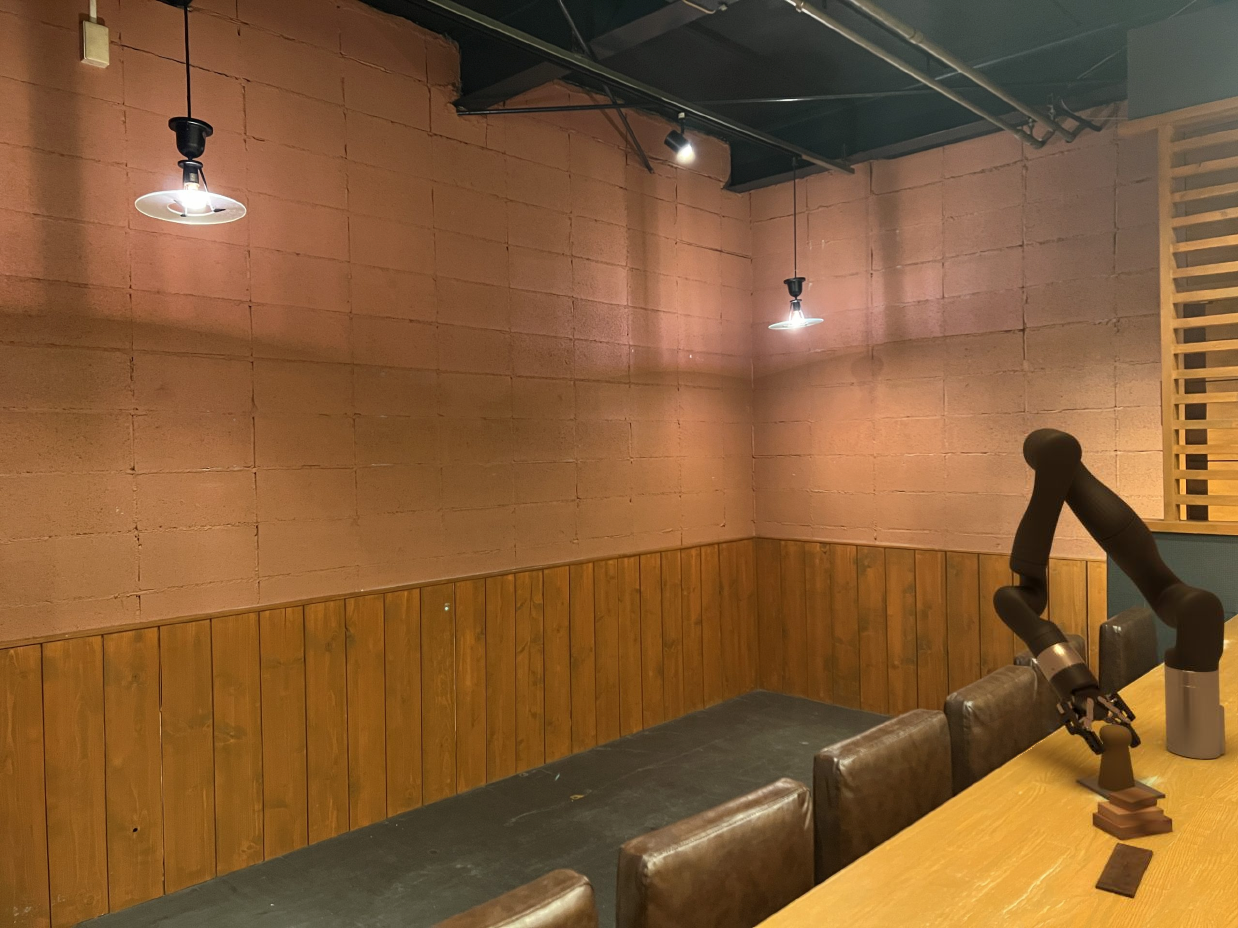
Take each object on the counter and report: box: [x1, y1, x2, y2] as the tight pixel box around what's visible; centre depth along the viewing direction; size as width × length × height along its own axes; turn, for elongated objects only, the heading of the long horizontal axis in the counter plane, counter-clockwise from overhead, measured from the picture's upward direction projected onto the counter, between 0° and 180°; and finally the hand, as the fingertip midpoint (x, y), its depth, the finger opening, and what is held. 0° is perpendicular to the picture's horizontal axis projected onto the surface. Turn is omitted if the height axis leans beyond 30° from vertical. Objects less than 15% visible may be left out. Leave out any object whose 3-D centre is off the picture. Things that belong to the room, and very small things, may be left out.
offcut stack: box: [1091, 787, 1173, 841], centre depth 145 cm, size 10×6×5 cm, turn 104°
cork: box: [1098, 723, 1135, 792], centre depth 161 cm, size 6×6×11 cm
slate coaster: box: [1075, 776, 1166, 801], centre depth 161 cm, size 10×10×1 cm
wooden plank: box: [1094, 842, 1154, 898], centre depth 132 cm, size 17×1×5 cm
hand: (1119, 749), depth 160 cm, fingers open, 8 cm apart
